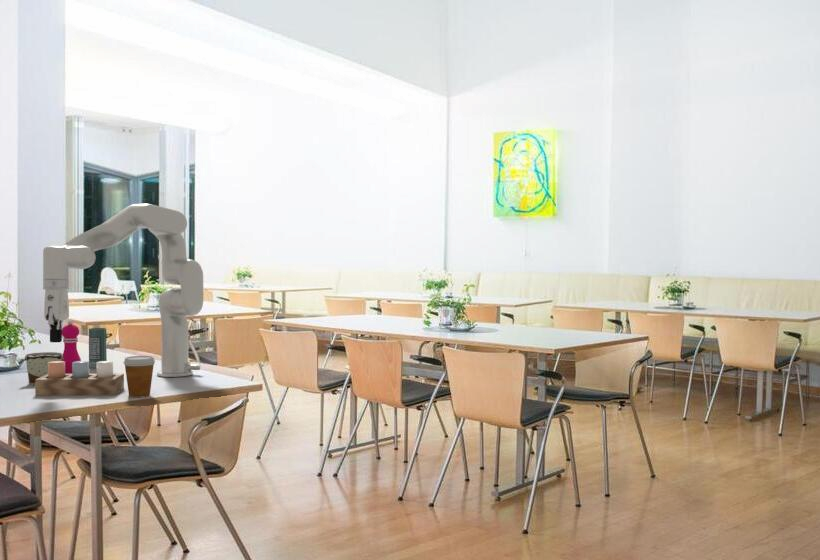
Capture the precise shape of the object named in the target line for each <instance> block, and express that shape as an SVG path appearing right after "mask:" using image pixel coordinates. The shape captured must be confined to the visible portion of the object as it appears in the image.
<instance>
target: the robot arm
mask: <svg viewBox="0 0 820 560" xmlns="http://www.w3.org/2000/svg"><path fill="white" fill-rule="evenodd" d="M187 226H188V221H187V218H186V216H185V215H184V214H183V212H180V211H178V210H175V209H171V208H167V207H164V206H159V205H155V204H151V203H134V204H130V205H127V206H126V207H124V208H123V209H122V210H120V211H118V212H117V213H116V214H114V215H113V216H112V217H110V218H109V219H107V220H106V221H104V222H103V223H100V224H99V225H97V226H95V227H93V228H91V229H89V230H87V231H84V232H83V233H82V232H81V233H80V234H78V235H76V236H74V237H72V239H70V240H68V241H67V242H66V243H64V244H63V245H62V246H60V245H47V246H45V247H44V248H43V250H42V251H43V252H42V289H43V290H45V292H44V293H45V294H44V304H43V306H44V308H43V309H44V311H43V315H44V316H43V317H44V320H46V321H48V323H47V325H49V342H50V343H62V342H63V336H62V328H63V323H64V321H65V320H67V319H69V317H70V306H69V305H70V302H69V293H68V290H70V288H69V287H70V285H69V283H70V281H69V280H70V279H69V278H70V275H69V274H70V273H69V272H70V271H69V270H70V269H74V270H75V269H76V270H86V269H88V268H91V267H92V266H93V265H94V264H95V262H96V258H97V257H96V253H95V252H97V251H100V250H105V249H109V248H112V247H115V246H117V245H119V244H121V243H122V242H123V241H126V239H127V238H129V237H130V236H132V235H133V234H134V233H135V232H137V231H139V230H140V229H147V230H148V231H149V232H150V233H152V235H154V236H155V238H157V239H158V242H159V243H160V244H159V245H160V248H161V253H162V254H161V256H162V257H161V261H162V263H161V264H162V269H161V273H162V279H163V282H165V283H166V284H168V285H174V286H180V288H176V287H175V288H168V289H165V290H164V291H163V292H162V293H160V295H159V297H158V309H159V315H160V321H161V322H160V323H161V325H160V326H161V331H160V332H161V333H160V335H161V336H160V337H161V339H160V340H161V341H160V343H161V348H160V349H161V353H160V354H161V361H160V363H161V365H160V366H161V370H159V371H157V372H156V375H157V377H161V378H181V377H188V376H191V375H193V373H194V372H193V371H201V364H192V363H191V361H189V324H188V323H189V322H188V319H187V316H188V317H192V316H193V317H194V316H196V315H198V314H199V313H200V312H201V310H203V307H204V306H203V305H204V272H203V268H202V266H201V264H200V263H199V262H198V261H196V260H194V259H190V258H187V248H186V247H187V246H186V240H185V239H184V238H185V237H184V236H183V233H184V232H185V231H186V229H187Z"/></svg>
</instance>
